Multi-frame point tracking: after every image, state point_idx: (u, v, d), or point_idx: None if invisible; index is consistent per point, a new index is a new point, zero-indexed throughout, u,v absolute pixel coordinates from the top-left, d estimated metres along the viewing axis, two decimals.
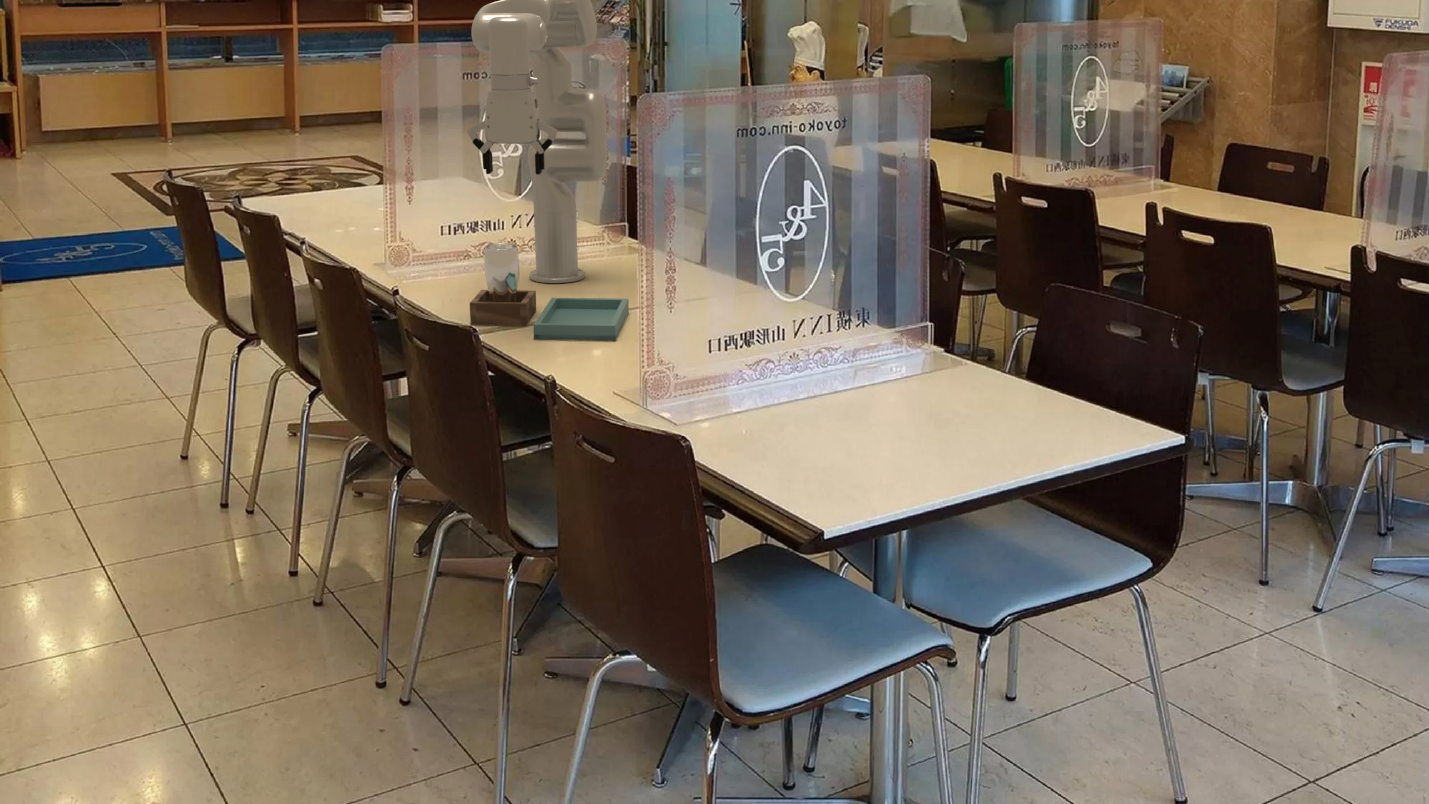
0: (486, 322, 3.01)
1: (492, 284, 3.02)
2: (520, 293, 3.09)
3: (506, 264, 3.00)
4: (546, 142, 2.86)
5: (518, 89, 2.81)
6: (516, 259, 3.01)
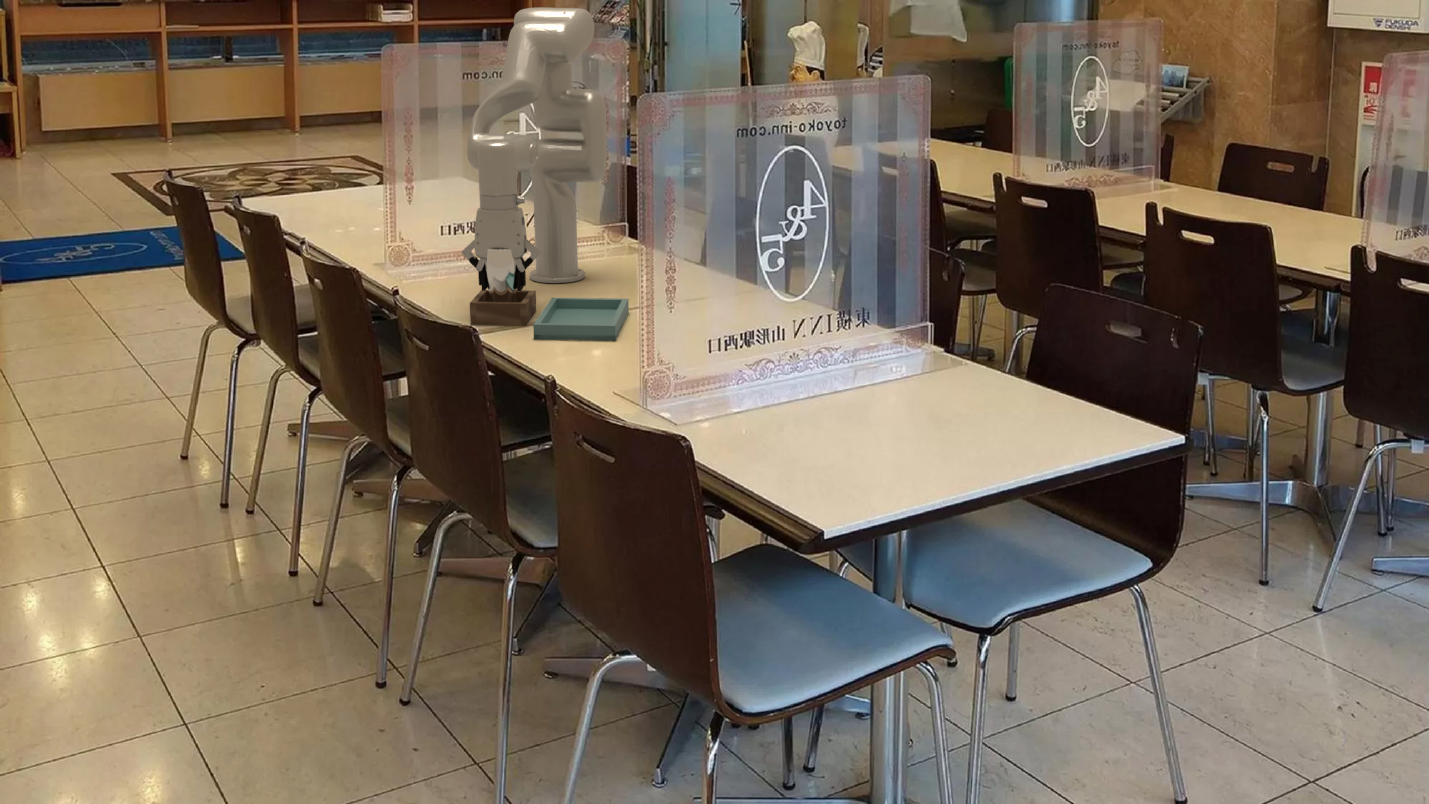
0: (486, 322, 3.01)
1: (492, 284, 3.02)
2: (520, 293, 3.09)
3: (506, 264, 3.00)
4: (527, 261, 3.01)
5: (506, 209, 2.96)
6: None
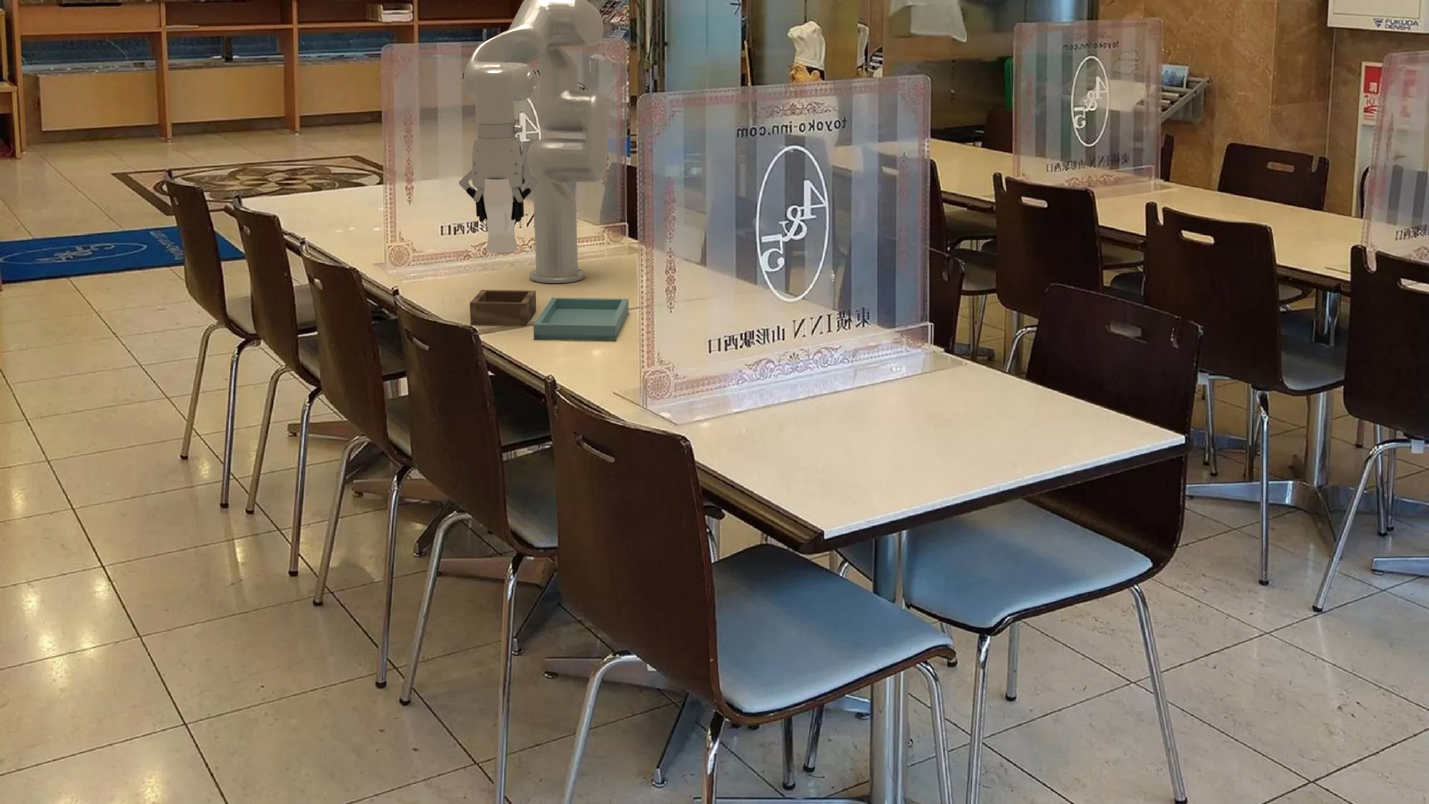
0: (486, 322, 3.01)
1: (490, 215, 2.98)
2: (520, 293, 3.09)
3: (504, 194, 2.96)
4: (525, 191, 2.97)
5: (503, 137, 2.92)
6: None
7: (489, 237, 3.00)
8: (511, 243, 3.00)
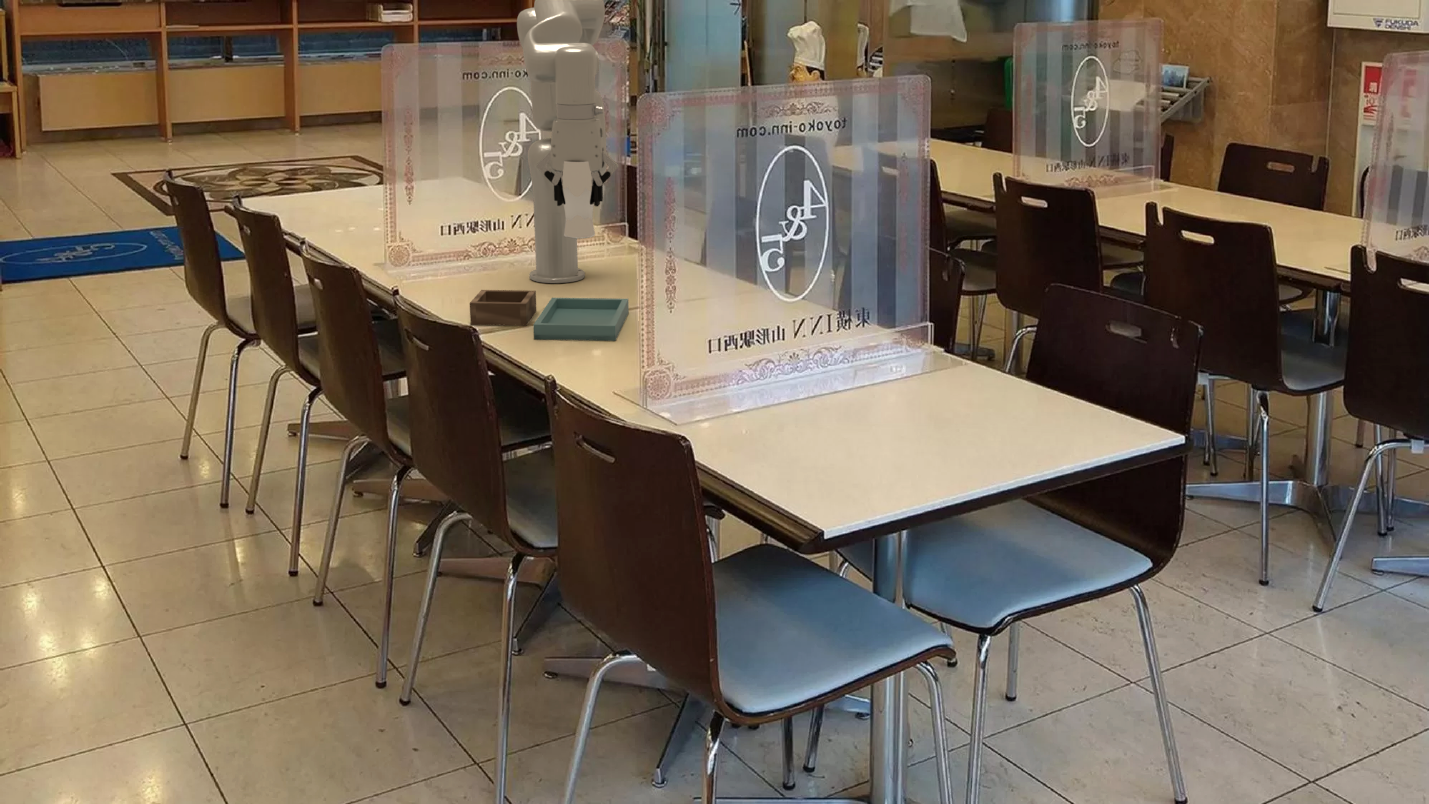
0: (486, 322, 3.01)
1: (568, 199, 2.90)
2: (520, 293, 3.09)
3: (583, 177, 2.88)
4: (605, 174, 2.89)
5: (584, 119, 2.84)
6: None
7: (567, 222, 2.92)
8: (589, 228, 2.92)
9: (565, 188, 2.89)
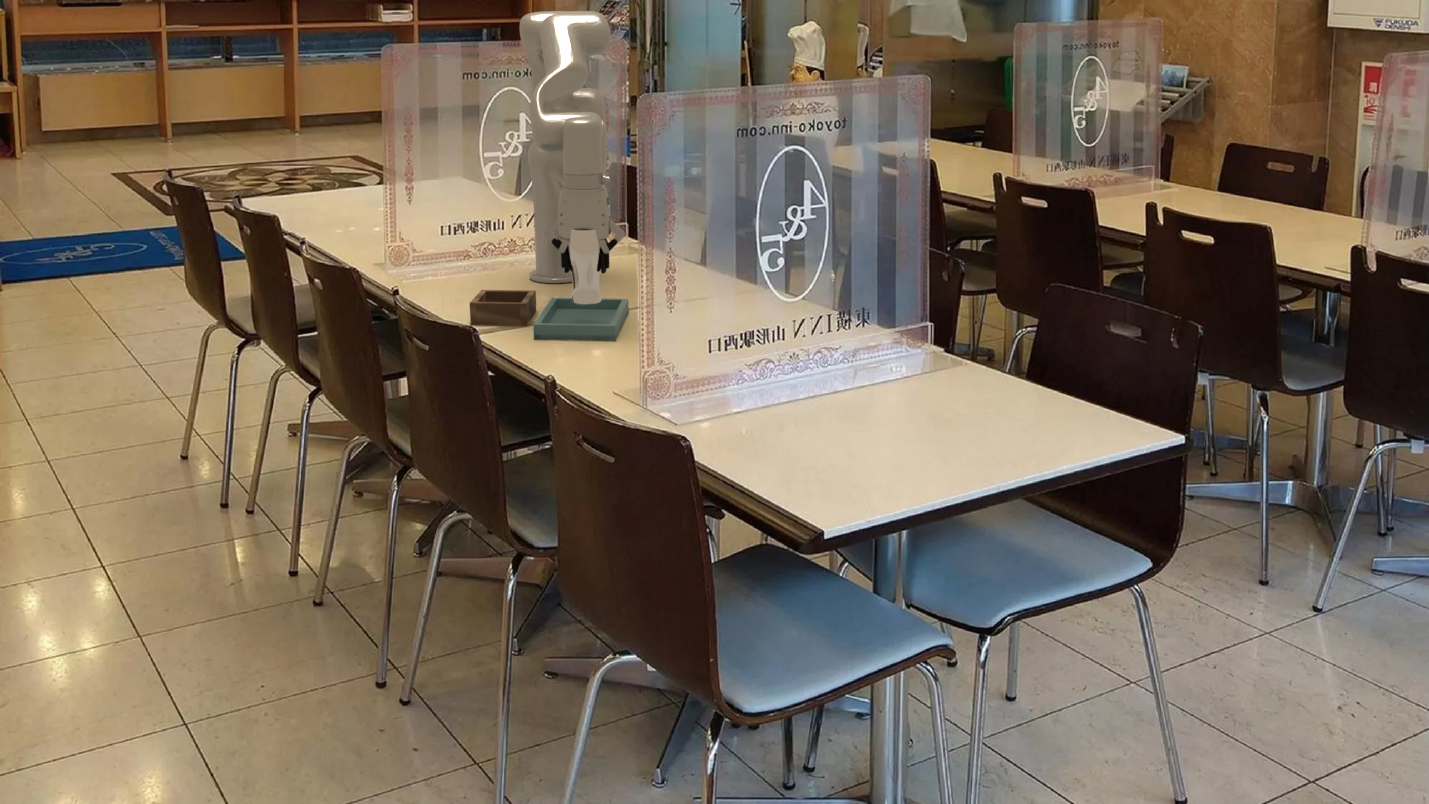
0: (486, 322, 3.01)
1: (575, 266, 2.93)
2: (520, 293, 3.09)
3: (590, 245, 2.91)
4: (611, 242, 2.93)
5: (591, 188, 2.88)
6: None
7: (574, 288, 2.96)
8: (596, 294, 2.96)
9: (572, 256, 2.92)
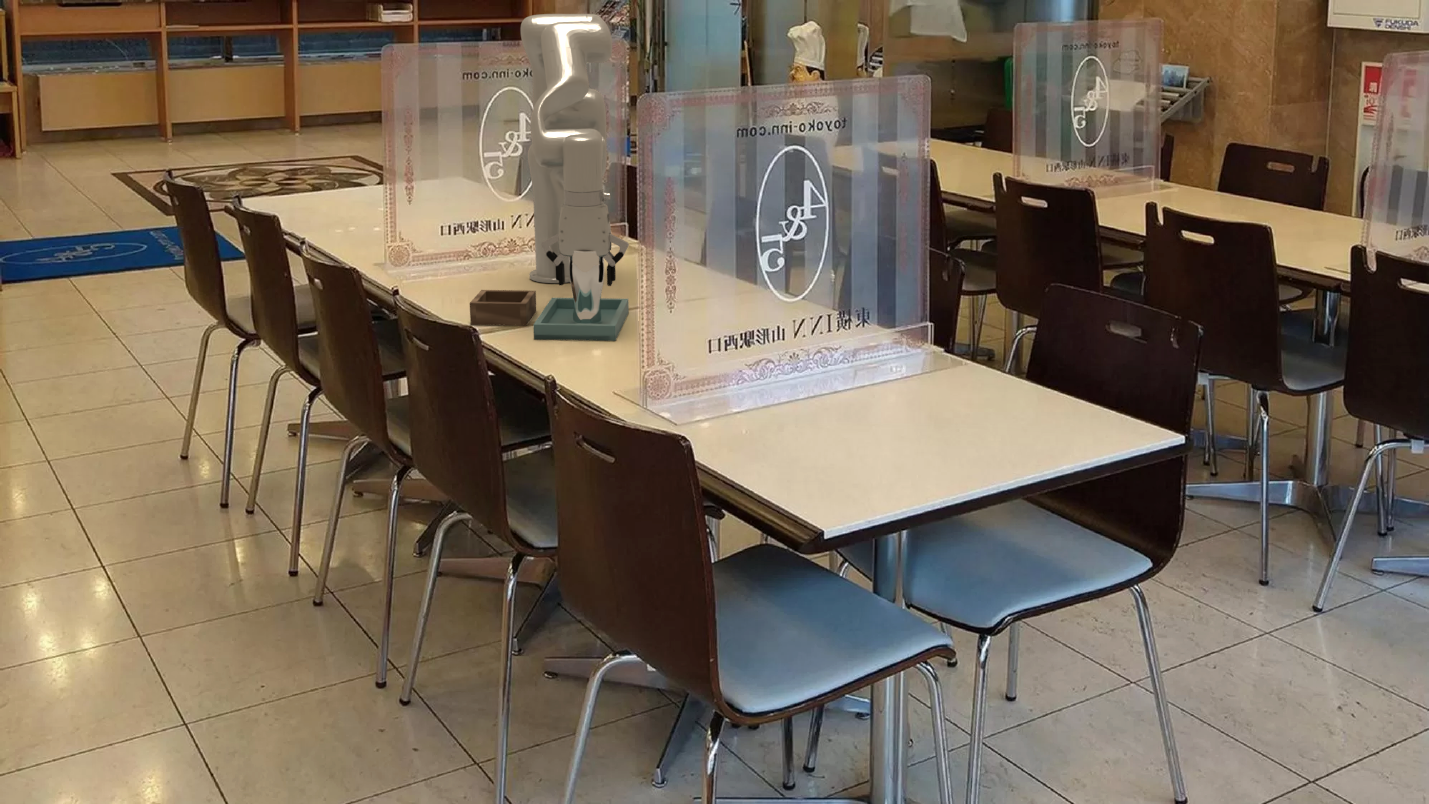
0: (486, 322, 3.01)
1: (577, 287, 2.95)
2: (520, 293, 3.09)
3: (592, 266, 2.93)
4: (618, 255, 2.94)
5: (592, 205, 2.89)
6: (602, 261, 2.95)
7: (575, 308, 2.97)
8: (597, 315, 2.97)
9: (574, 276, 2.94)
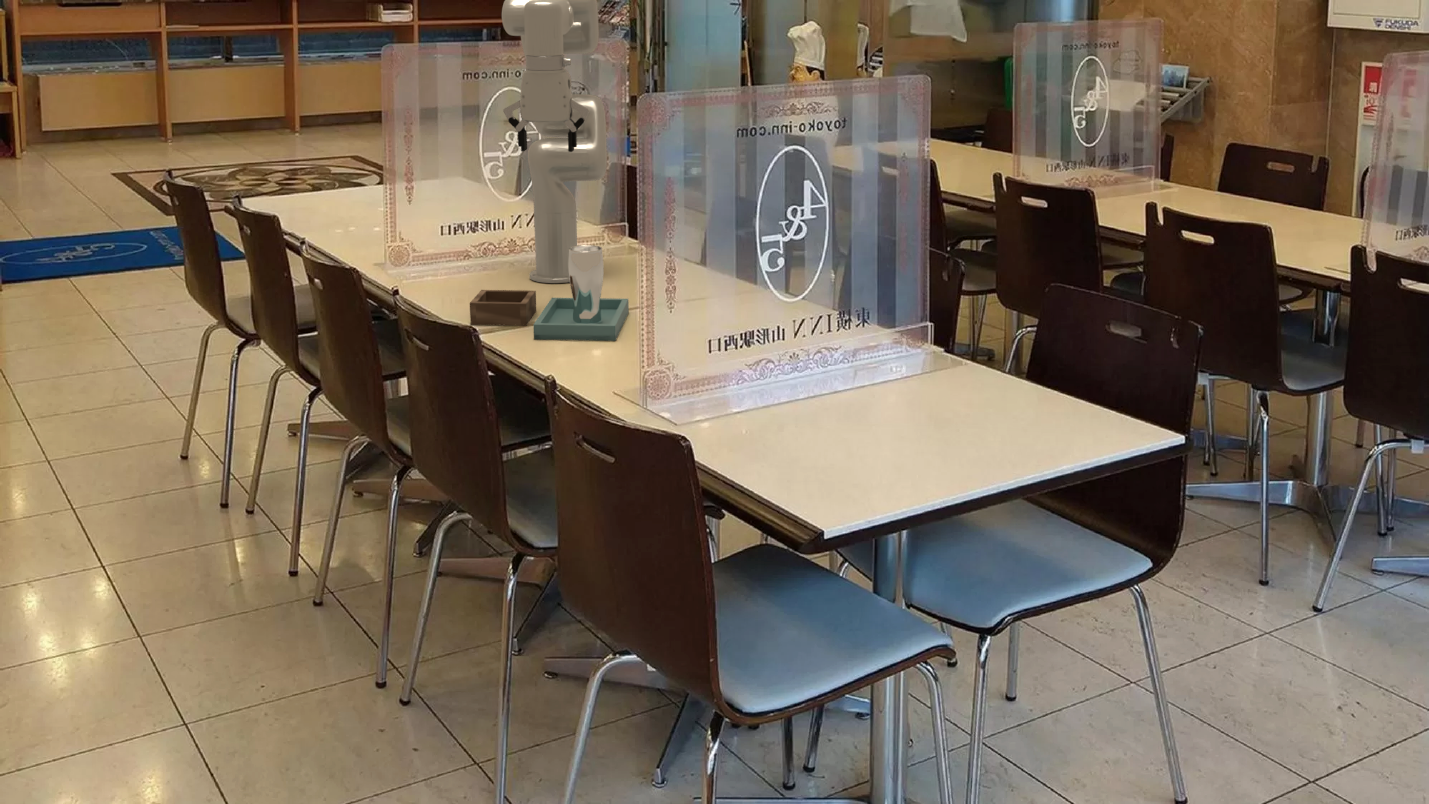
0: (486, 322, 3.01)
1: (576, 287, 2.95)
2: (520, 293, 3.09)
3: (591, 267, 2.93)
4: (579, 121, 2.99)
5: (552, 70, 2.94)
6: (601, 261, 2.95)
7: (575, 309, 2.97)
8: (597, 315, 2.97)
9: (573, 277, 2.94)
